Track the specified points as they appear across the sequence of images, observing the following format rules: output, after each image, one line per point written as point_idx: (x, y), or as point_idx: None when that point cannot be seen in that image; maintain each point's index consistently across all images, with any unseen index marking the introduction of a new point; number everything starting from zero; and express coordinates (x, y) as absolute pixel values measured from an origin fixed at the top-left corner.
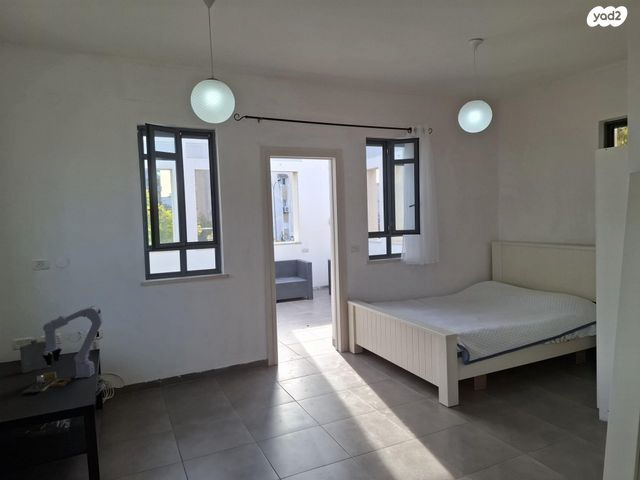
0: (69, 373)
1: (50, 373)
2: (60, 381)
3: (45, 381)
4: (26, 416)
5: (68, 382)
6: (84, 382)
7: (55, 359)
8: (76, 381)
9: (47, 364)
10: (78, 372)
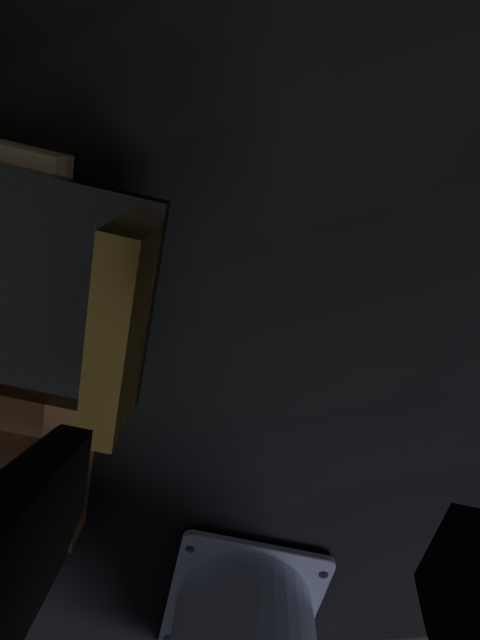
0: (440, 441)
1: (83, 374)
2: None
3: None
4: None
5: None
6: None
7: (463, 573)
8: (75, 562)
9: (36, 446)
10: (176, 631)
